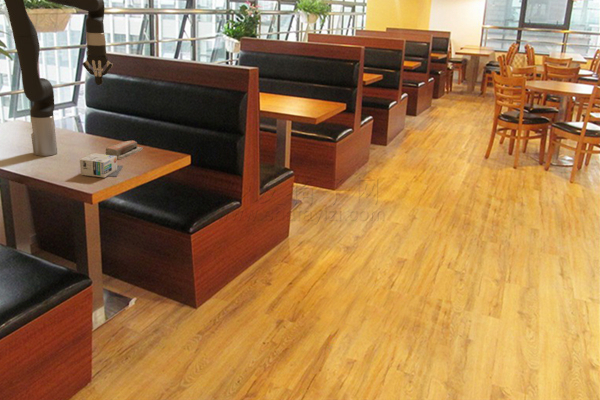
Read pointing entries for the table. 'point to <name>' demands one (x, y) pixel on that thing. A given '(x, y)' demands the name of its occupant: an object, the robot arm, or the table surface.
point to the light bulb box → (98, 165)
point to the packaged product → (123, 149)
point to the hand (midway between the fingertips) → (99, 84)
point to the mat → (115, 172)
